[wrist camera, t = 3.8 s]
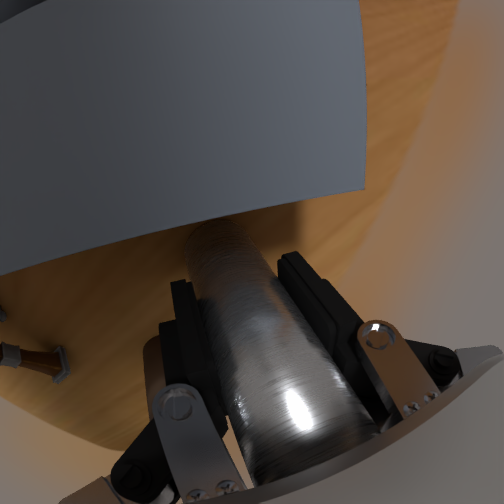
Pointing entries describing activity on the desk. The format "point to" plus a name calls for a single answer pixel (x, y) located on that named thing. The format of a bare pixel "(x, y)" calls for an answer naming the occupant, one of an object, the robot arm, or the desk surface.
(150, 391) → the short pin
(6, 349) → the wooden post with brackets
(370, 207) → the desk surface
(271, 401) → the long pin
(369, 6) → the desk surface
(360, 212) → the desk surface
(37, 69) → the hole block
